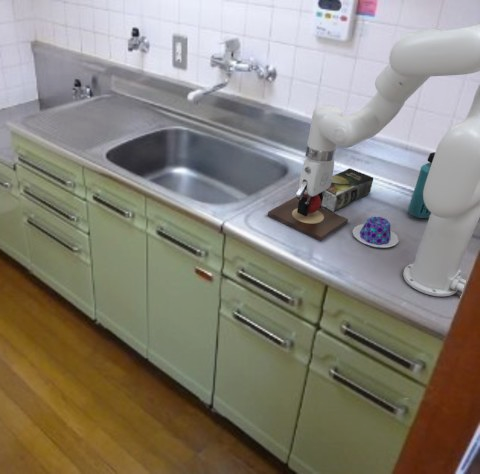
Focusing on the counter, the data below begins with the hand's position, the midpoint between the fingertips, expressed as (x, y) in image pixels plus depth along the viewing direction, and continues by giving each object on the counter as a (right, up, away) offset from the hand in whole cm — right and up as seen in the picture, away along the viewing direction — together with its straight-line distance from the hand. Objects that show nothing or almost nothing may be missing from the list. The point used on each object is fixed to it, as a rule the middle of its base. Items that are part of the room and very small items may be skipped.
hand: (309, 209), depth 152 cm
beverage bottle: (+33, -2, +4) cm, 34 cm away
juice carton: (+13, +4, +14) cm, 19 cm away
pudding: (+17, -8, -5) cm, 19 cm away
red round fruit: (0, -1, +1) cm, 2 cm away
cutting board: (0, -3, +2) cm, 3 cm away
